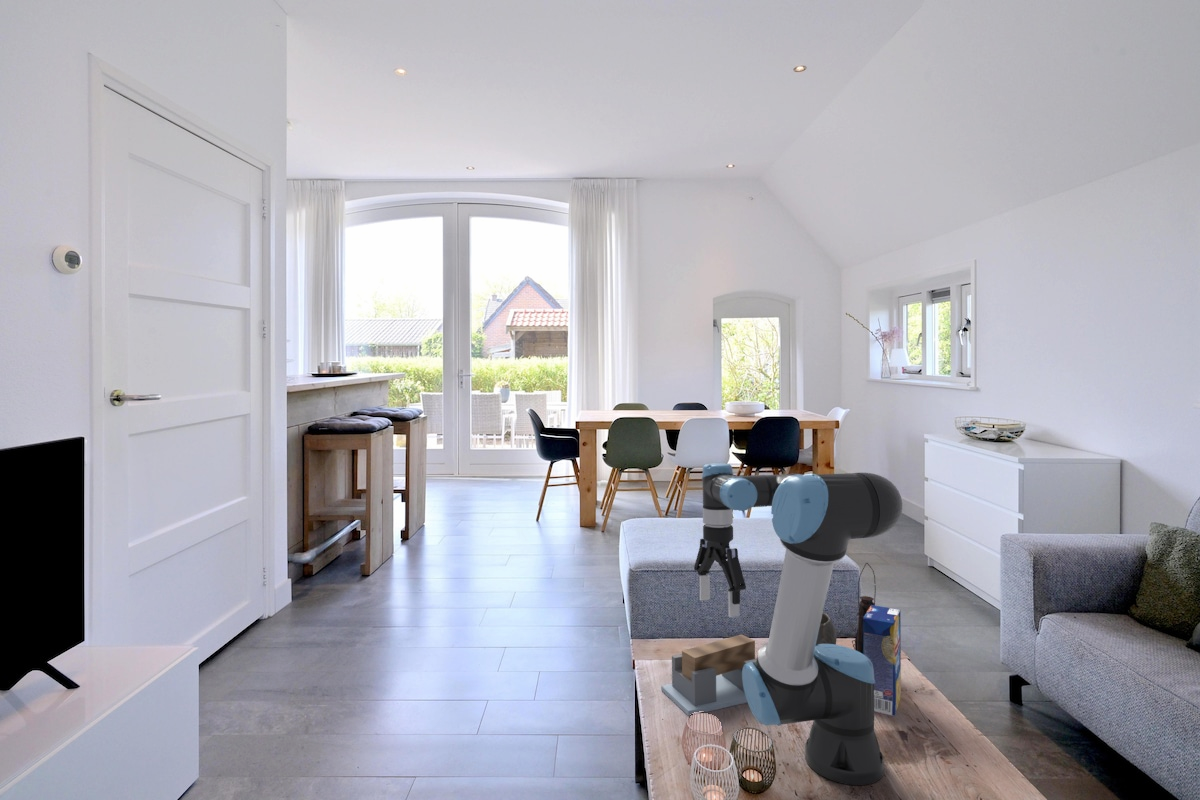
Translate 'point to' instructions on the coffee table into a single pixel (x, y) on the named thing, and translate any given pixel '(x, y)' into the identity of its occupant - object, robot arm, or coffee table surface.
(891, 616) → the beverage box
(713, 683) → the bracket
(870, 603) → the lantern
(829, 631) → the bowl
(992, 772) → the coffee table surface
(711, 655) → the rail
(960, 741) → the coffee table surface
